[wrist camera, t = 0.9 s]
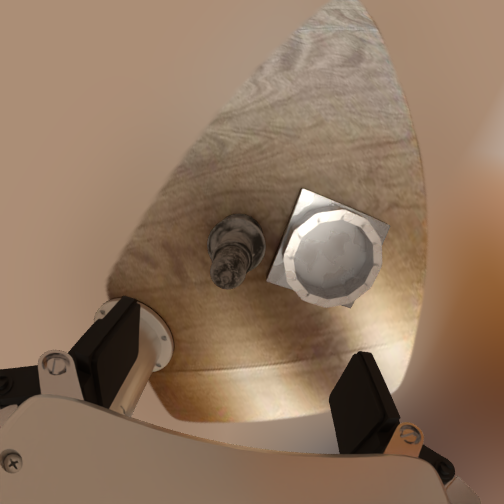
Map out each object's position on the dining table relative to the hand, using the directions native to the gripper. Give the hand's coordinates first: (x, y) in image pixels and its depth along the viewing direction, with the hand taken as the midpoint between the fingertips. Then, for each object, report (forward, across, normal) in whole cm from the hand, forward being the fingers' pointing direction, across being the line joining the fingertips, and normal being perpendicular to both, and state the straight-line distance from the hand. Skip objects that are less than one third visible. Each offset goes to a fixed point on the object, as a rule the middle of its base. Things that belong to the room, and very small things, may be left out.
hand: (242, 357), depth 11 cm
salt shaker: (+22, +2, +1) cm, 22 cm away
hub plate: (+21, -8, 0) cm, 23 cm away
